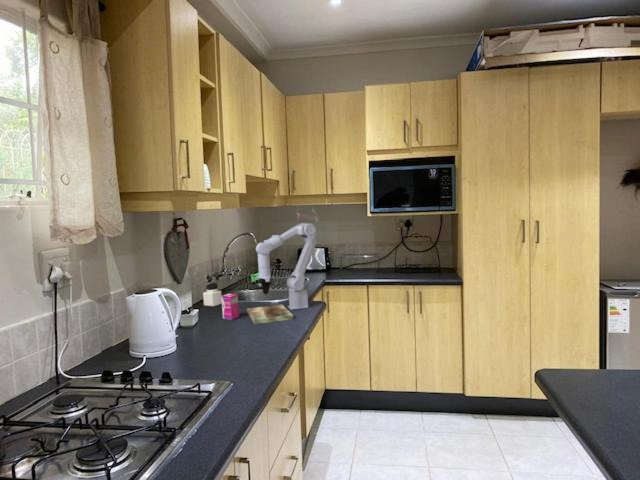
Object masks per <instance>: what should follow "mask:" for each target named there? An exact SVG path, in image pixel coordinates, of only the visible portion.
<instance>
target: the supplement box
mask: <svg viewBox="0 0 640 480" xmlns="http://www.w3.org/2000/svg"><path fill="white" fill-rule="evenodd" d="M221 300H222V304H221V308H222V309H221V310H222V320H228V321H233V320H237V319H239V318H240V310H239V308H240V307H239V297H238V294H235V293H227V294H224V295H222V296H221Z"/></svg>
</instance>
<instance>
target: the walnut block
mask: <svg viewBox="0 0 640 480" xmlns="http://www.w3.org/2000/svg"><path fill="white" fill-rule="evenodd" d="M277 305H278V304H276V305H275V304H274V305H266V306H265V305H264V306H263V307H264V315H265V316H266V317H267V318H270V317H278V316H280V314H279V307H278V306H277Z"/></svg>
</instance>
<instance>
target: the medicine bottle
mask: <svg viewBox="0 0 640 480" xmlns="http://www.w3.org/2000/svg"><path fill="white" fill-rule="evenodd" d="M205 288H206V291H205V292H203V293H202V297H203V306H206V307H207V306H208V307H215V306H219V305H222V300H221V296H223V294H222V290H219V289H218V283H217V282H208V283H206V285H205Z"/></svg>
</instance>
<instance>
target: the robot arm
mask: <svg viewBox="0 0 640 480" xmlns="http://www.w3.org/2000/svg"><path fill="white" fill-rule="evenodd" d="M317 232H318V230H317V228H316V226H315V225H314V224H313V223H311V222H310V223H305V222H300V224H296V225H294V226H293V227H291V228H290V229H289V230H287V231H285V232H283V233H282V234H279V235H278V234H273V235H271V237H269V238H268V239H264V240H263V242H259V243H257V245H256V246H255V251H256V254H257V264H258V268H257V269H258V275H256V279H259V280H258V282H259V284H260V286H261V289H262V293H263V295H269V291H270V286H271V283H272V279H271V277H272V275H271V262H270V254H271V251H274V250H275V249H277V248H279V247H280V246H282V245H283V243H284V241H286V240H288V239H290V238H292V237H294V236H297V235H300V236H301V238H303V241H304V243H305V244H304V245H303V248H302V250H301V253H300V255H299V258H298V260H297V263H296V266H295V268H294V270H293V272H291V274H290V276H288V278H287V279H286V286H287V288H288V305H287V307H286V308H287V309H288V310H299V309H301V310H302V309H309V302H308V301H309V297H308V296H309V295H308V291H307V289H304V287H305V280H306V277H305V273H306V271H307V269H308V266H309V263H310V261H311V257H312V256H313V253H314V251H315V247H316V245H317V242H318V240H317Z"/></svg>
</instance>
